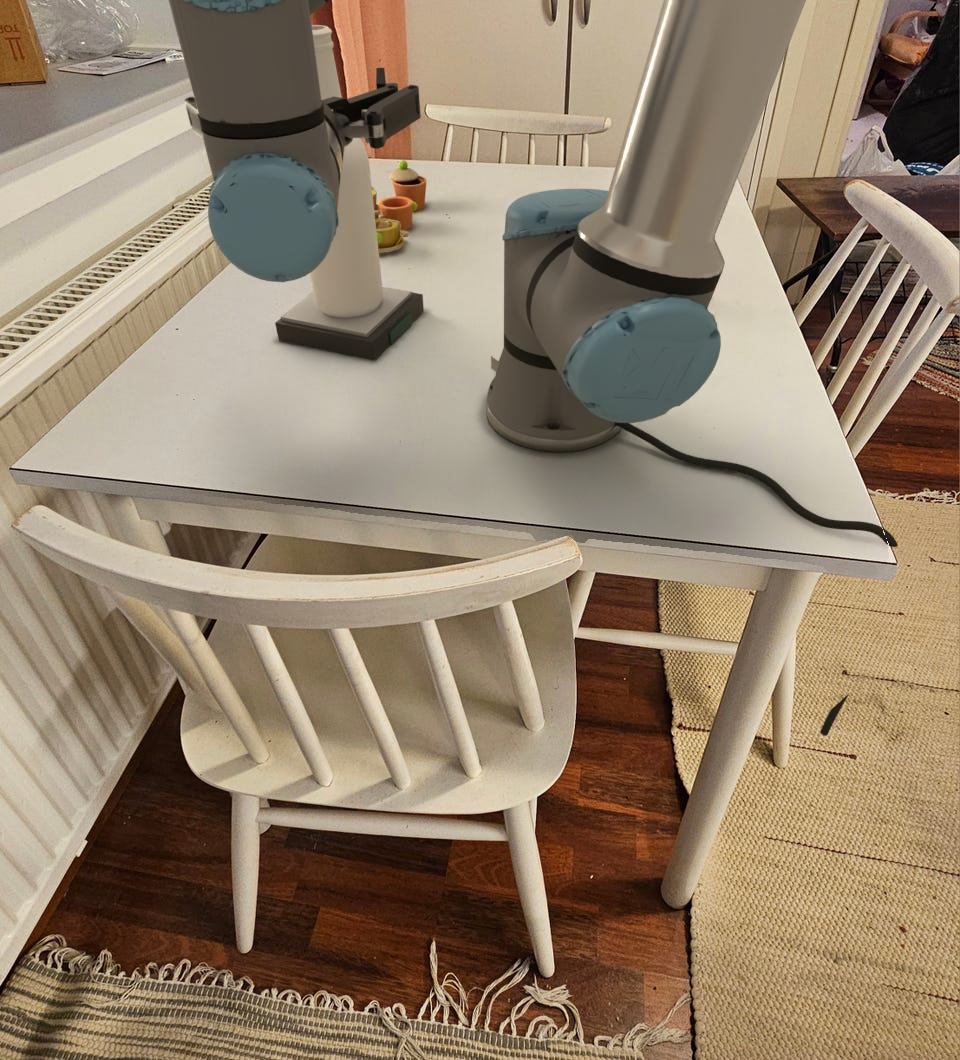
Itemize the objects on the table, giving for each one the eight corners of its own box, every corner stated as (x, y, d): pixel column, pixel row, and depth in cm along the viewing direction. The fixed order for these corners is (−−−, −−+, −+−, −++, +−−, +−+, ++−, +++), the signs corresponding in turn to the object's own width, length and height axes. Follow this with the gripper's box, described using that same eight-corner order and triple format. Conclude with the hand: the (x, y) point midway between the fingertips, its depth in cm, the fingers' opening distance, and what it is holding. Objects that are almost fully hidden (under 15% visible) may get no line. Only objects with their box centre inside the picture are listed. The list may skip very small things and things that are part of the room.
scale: (425, 311, 102) (423, 290, 100) (376, 360, 92) (373, 338, 90) (334, 295, 106) (331, 274, 104) (278, 340, 96) (274, 319, 94)
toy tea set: (399, 260, 114) (393, 194, 108) (303, 253, 117) (291, 189, 110) (439, 201, 133) (436, 142, 127) (356, 196, 136) (349, 138, 129)
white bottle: (323, 325, 93) (276, 38, 72) (309, 296, 99) (261, 24, 79) (392, 312, 95) (364, 31, 75) (373, 284, 101) (343, 18, 81)
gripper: (455, 89, 54) (438, 35, 70) (103, 107, 53) (166, 48, 68) (459, 196, 59) (442, 123, 75) (138, 216, 58) (189, 137, 74)
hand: (310, 87), depth 72 cm, fingers open, 13 cm apart
